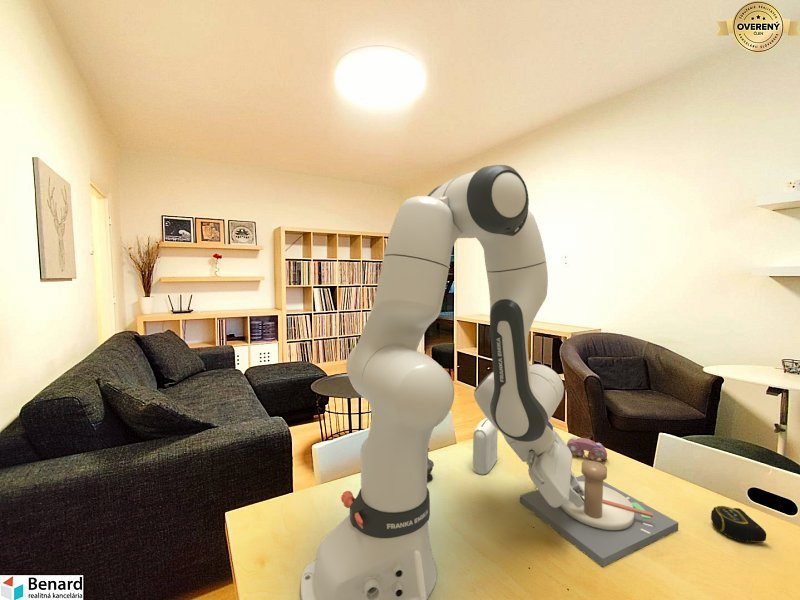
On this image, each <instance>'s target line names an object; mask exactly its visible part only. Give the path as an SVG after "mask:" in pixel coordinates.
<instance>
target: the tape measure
mask: <svg viewBox="0 0 800 600" xmlns="http://www.w3.org/2000/svg"><path fill="white" fill-rule="evenodd" d="M710 520H711V522H712V524H713V526H714V527H715V528H716V529H717V530H718V531H720V532H721V533H722V534H724V536H725V535H726V536H727V537H730V538H732V539H734V540H738V541H742V542H758V543H759V542H760V543H762V542H765V541H766V539H767V533H766V531H765V530H764V528H763V527H762V526H760V524H758V523H757V522H756V521H754V520H753V519H752V518H751V517H750V516H749V515H748V514H747V513H746V512H745V511H743V509H741V508H738V507H733V508H732V507H730V506H725V505H717V506H714V507H713V509H712V510H711V514H710Z"/></svg>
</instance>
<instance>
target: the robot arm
mask: <svg viewBox="0 0 800 600" xmlns="http://www.w3.org/2000/svg"><path fill="white" fill-rule="evenodd" d="M529 205H530V201H529V192H528V188H527V185H526V182H525V180H524V179H523V177H522V176H521V175H520V173H519V172H518V171H517V170H516V169H515V168H513V167H512V166H509V165H507V164H506V165H505V164H493V165H488V166H484V167H483V166H482V167H481V168H480V169H478V170H475V171H471V172H468V173H465V174H460V175H458V176H455V177H453V178H451V179H450V180H448V181H447V182H445V183H443V184H441V185H438V186H436V187H435V188H433V189H432V191H430V192H429V194H427V195H417V196H412V197H410V198H408V199H406V200H405V201H403V202H402V203H401V204H400V206H399V208H398V210H397V213H396V215H395V217H394V220H393V223H392V224H391V225H392V226H391V229H390V231H389V235H388V239H387V242H386V244H385V245H386V246H385V249H384V254H383V260H382V264H381V268H380V269H381V270H380V272H379V273H380V274H379V279H378V281H377V282H378V283H377V287H376V292H375V296H374V299H373V300H374V301H373V304H372V307H371V310H370V311H369V312H370V313H369V315H368V317H367V320H366V322H365V325H364V327H363V329H362V332H361V335H360V337H359V339H358V341H357V343H356V345H354V347H353V348H352V349H351V351H349V354H348V356H347V360H346V365H345V366H346V373H347V374H346V375H347V376H348V380H349V381H350V384H351V385H352V387H353V389H354V391H355V392H356V393H357V394H358V395H360V396H361V397H363V399H364V400H366V401H367V402H368V405H369V407H370V411H371V412H370V413H371V422H370V427H369V431H368V435H367V438H366V439H364V441H363V443H362V444H361V447H360V489H359V492H358V494H357V496H356V497H355V496H354V494H353V492H351V490H345V491H344V492H342V494H341V497H340V500H341V502H342V503H343V506H344V507H345V508H346V509H349V515H347V517H345V518H344V519H343V520H342V521H341V522H340V523H338V524H337V526H336V527H335V528H333V529H332V530H331V531H330V532H329V533H328V534H326V535H325V536H324V538H322V540H320V543H319V545H318V548H317V551H316V556H315V560H314V561H311V562H309V563H308V564H307V565H306V566H305V567H304V570H303V572H302V575H301V580H300V600H428V598H429V596H430V594H431V593H432V591H433V589H434V588H435V585H436V583H437V579H438V571H437V570H438V569H437V566H436V562H435V558H434V555H433V551H432V547H431V539H430V532H429V531H430V530H429V520H430V515H431V509H430V508H431V502H430V490H429V488H428V483H427V455H428V456H429V451H428V448H429V446H430V440H431V438H432V434H433V431H434V429H435V428H436V427H438V426H439V425H440V424H441V423H442V422H443V421H444V420H445V419H446V418H447V416H448V415H449V413H450V411H451V410H452V407H453V404H454V399H455V386H454V382H453V379H452V377H451V375H450V374H449V373H448V371H447V370H446V369H445V368H443V366H442V365H440V364H439V363H438V362H437V361H436V360H434V359H433V358H432V357H431V356H429V355H428V354H425V353H423V352H421V351H419V350H418V347H419V345H420V343H421V341H422V338H423V337H424V335H425V333H426V331H427V329H428V328H429V327H430V325H432V323H434V322H435V321H436V319H438V318H439V316H440V314H441V312H442V307H443V300H444V296H445V293H446V292H445V291H446V286H447V282H448V276H449V272H450V271H449V270H450V265H451V258H452V252H453V247H454V245H455V243H456V241H457V240H458V239H476V240H477V241H478V242H479V244H480V245H481V247H482V249H483V256H484V264H485V265H484V266H485V270H486V276H487V283H488V293H489V336H490V348H491V361H492V372H490V373H488V374H487V375H485V377H484V378H483V379H482V380H481V381H480V382H479V384H478V385H477V386H476V387H475V389H474V392H473V397H474V400H475V402H476V404H477V406H478V407H479V409H480V411H481V412H482V413H483V415H484V416H485V418H488V420H489V421H490V422H491V423H492V425H493V426H494V427H495V428H497V429H498V431H499V432H500V433H501V435H502V436H503V437H504V441H505V442H506V443H507V444H508V446H509V447H510V448H511V449H512V450H513V452H514V453H515V454H516V456H517V457H518V458H519V460H521V461H522V462H523V463H526V465H527V466H528V471H527V472H528V476H529V478H530V479H531V482H532V484H534V486H535V487H536V490H539V492H540V493H541V494H542V496H543V497H544V498H545V500H546V501H547V502H548V504H549V505H550V506H552V507H554V508H557V507H559V506H561V505H563V504H565V503H566V502H568V501H569V500H571V501H572V502H573V503H574V505H575V506H576V507H578V508H579V507H581V506H583V505H584V498H583V497H582V496H584V489H583V488H582V487H581V486H580V484H579V483H578V481H577V479H576V477H577V476H576V475H575V474H574V472H573V470H572V467H573V466H572V463H573V454H572V452H571V451H570V449H569V448H568V446H567V443H565V441H564V440H563V438H562V437H561V436H560V435H559V434H558V432H557V431H556V430H555V429H554V425H553V423H552V422H551V421H550V419H551V418H552V416H553V415H554V413H555V411H556V410H557V408H558V406H559V405H560V403H561V402H562V400H563V397H564V395H565V385H564V381H563V379H562V378H561V376H560V375H559V374H558V373H557V372H556V371H555V370H554V369H553V368H551V367H549V366H547V365H545V364H541V363H533V364H530V359H529V347H528V345H529V343H528V341H529V335H530V330H531V328H532V325H533V323H534V320H535V318H536V316H537V314H538V313H539V311H540V309H541V307H542V305H544V302H545V300H546V299H547V296H548V288H549V287H548V286H549V285H548V282H549V275H548V274H549V272H548V265H547V258H546V253H545V248H544V244H543V240H542V237H541V233H540V229H539V226H538V223H537V221H536V218H535V216H534V214H533V213H532V212H531V211H530V209H529Z"/></svg>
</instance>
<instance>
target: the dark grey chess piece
mask: <svg viewBox="0 0 800 600" xmlns="http://www.w3.org/2000/svg"><path fill="white" fill-rule="evenodd" d="M428 452H430V447H428ZM434 465H435V463H434V461H433V460H431V459H429V454H428V455H427V484H428V483H431V482H432V481H433V479H434V478H433V474H431V473H432V472H433V468H434Z"/></svg>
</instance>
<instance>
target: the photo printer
mask: <svg viewBox="0 0 800 600" xmlns="http://www.w3.org/2000/svg"><path fill="white" fill-rule="evenodd" d="M498 431H499V430H498V429H497V428H495V427H494V426H493V425H492V423H491V422H490V421H489V420H488V418H487V417H485V418H483V419H481V420H480V421H479V422H478V423H477V425H476V427H475V429H474V431H473V437H472V441H473V442H472V444H473V445H472V470H473V471H474V472H475V473H476V474H479V475H487V474H488V473H489V472H490V471H491V469H492V468H493V467H494V466H495V464H496V463H497V459H498V433H499V432H498Z"/></svg>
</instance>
